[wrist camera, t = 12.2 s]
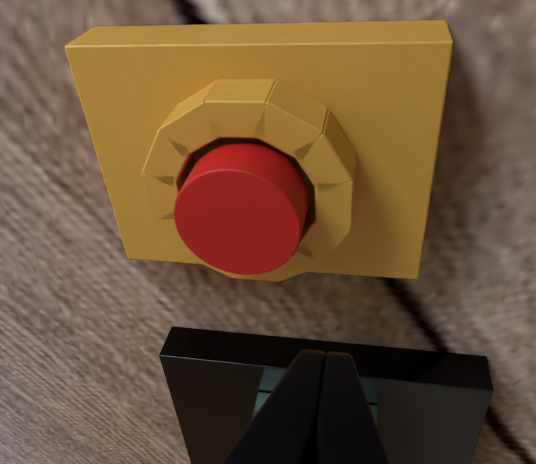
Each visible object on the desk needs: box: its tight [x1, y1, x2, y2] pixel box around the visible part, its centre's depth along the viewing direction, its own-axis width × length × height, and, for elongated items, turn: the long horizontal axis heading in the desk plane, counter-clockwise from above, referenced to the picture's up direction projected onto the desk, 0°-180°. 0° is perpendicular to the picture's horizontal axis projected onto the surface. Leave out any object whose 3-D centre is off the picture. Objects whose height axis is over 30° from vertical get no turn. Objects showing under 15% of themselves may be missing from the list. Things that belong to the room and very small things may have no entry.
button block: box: [65, 20, 454, 282], centre depth 18 cm, size 12×9×4 cm
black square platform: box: [159, 327, 493, 464], centre depth 29 cm, size 16×14×2 cm
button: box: [174, 142, 308, 275], centre depth 16 cm, size 4×4×2 cm
